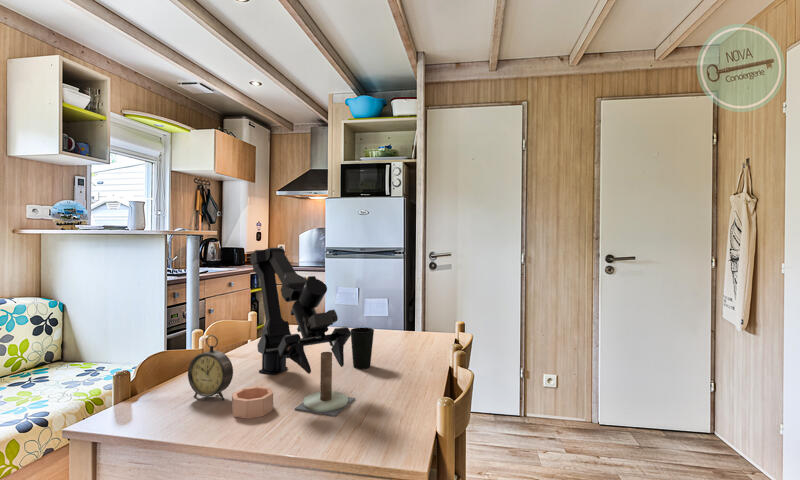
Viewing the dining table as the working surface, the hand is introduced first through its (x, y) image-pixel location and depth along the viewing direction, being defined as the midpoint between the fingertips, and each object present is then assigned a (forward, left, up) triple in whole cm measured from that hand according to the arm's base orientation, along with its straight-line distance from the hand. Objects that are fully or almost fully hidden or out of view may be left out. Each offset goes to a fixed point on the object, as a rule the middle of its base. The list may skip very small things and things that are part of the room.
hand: (326, 369), depth 104 cm
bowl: (-15, -9, -9) cm, 20 cm away
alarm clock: (-30, -6, -9) cm, 32 cm away
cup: (-4, +32, -9) cm, 34 cm away
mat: (0, 0, -9) cm, 9 cm away
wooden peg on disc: (0, 0, -8) cm, 8 cm away
